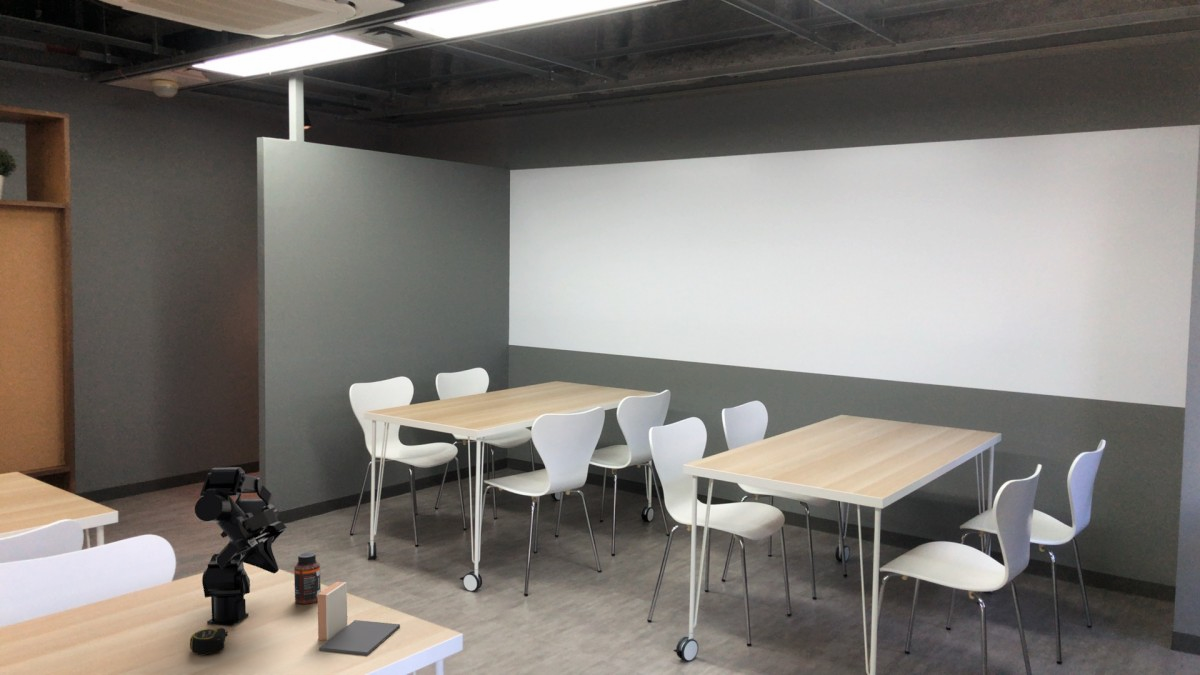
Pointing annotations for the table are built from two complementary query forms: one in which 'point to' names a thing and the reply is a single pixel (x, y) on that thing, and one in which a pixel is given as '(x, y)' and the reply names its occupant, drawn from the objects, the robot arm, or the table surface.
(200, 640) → the tape measure
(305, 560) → the supplement bottle
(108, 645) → the table surface
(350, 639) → the mat
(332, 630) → the tile
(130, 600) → the table surface
